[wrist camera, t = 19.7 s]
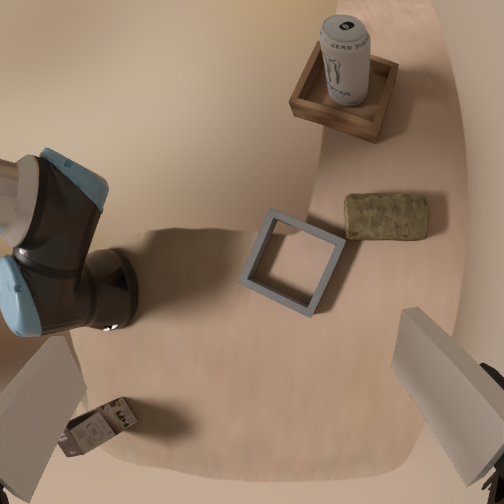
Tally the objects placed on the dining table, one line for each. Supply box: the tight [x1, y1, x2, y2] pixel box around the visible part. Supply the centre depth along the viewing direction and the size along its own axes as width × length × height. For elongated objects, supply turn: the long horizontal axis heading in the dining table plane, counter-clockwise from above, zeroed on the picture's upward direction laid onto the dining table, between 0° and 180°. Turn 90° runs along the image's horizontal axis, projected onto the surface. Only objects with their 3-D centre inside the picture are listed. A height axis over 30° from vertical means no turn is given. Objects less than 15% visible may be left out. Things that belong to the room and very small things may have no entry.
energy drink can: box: [319, 15, 370, 106], centre depth 30 cm, size 6×6×15 cm
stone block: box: [344, 193, 429, 241], centre depth 35 cm, size 6×12×5 cm, turn 90°
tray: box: [238, 208, 346, 318], centre depth 39 cm, size 11×11×2 cm
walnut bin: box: [289, 41, 399, 144], centre depth 36 cm, size 13×13×4 cm
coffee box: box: [58, 397, 137, 457], centre depth 42 cm, size 9×6×16 cm
